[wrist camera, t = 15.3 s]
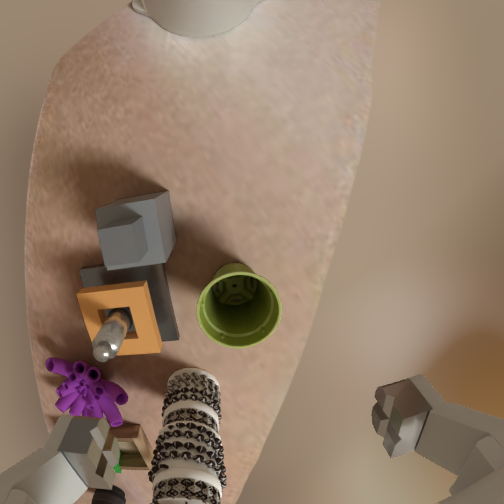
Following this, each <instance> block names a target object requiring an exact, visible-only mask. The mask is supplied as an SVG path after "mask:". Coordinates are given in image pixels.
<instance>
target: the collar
mask: <svg viewBox="0 0 504 504" xmlns="http://www.w3.org/2000/svg"><path fill="white" fill-rule="evenodd" d="M76 295H77V299H78V302H79V305H80V309H81V312H82V315H83V318H84V321H85V324H86V327H87V330H88V333H89V336H90V339H91V341H92V342H93V340H94V338H95V336H96V335H97V333H98V332H99V330H100V328H101V327H102V325H103V324H104V322H105V321H106V319H107V318H106V315H105V311H104V309H110V308H120V307H130V311H131V314H132V318H133V321H134V325H135V328H136V331H132V332H127V334H126V336H125V338H124V340H123V342H122V344H121V346H120V349H119V351H118V353H117V355H134V354H148V353H160V352H161V348H162V345H163V344H162V340H161V336H160V333H159V329H158V325H157V321H156V317H155V313H154V309H153V305H152V301H151V297H150V293H149V288H148V284H147V280H144V281H136V282H128V283H120V284H112V285H103V286H95V287H87V288H82V289H81V290H80V291H79V292H78V293H77V294H76ZM117 355H116V356H117Z"/></svg>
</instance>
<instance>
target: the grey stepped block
mask: <svg viewBox="0 0 504 504" xmlns="http://www.w3.org/2000/svg"><path fill="white" fill-rule="evenodd" d="M95 214H96V219H97V224H98V230H97V232H98V237H99V242H100V246H101V251H102V255H103V260H104V264H105V267H107V271H108V270H115V269H123V268H130V267H138V266H145V265H153V264H160V263H166V261H167V259H168V257H169V255H170V254H171V252H172V250H173V248H174V246H175V244H176V242H177V241H176V235H175V229H174V222H173V216H172V209H171V203H170V196H169V191H164V192H158V193H152V194H146V195H140V196H134V197H129V198H123V199H119V200H116V201H114V202H111V203H109V204H107V205H104V206H102V207H99V208H97V209H95Z"/></svg>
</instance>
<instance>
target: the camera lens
mask: <svg viewBox="0 0 504 504" xmlns="http://www.w3.org/2000/svg"><path fill="white" fill-rule="evenodd" d="M125 502H126V499H125V493H124V492H123V491H122V490H121V489H120V488H118V487H116V486H112V490H109V489H99V488H98V489H96V491H95V493H94V495H93V499H92V504H125Z"/></svg>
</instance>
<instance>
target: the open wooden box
mask: <svg viewBox="0 0 504 504" xmlns="http://www.w3.org/2000/svg"><path fill="white" fill-rule="evenodd" d="M109 426H110V428H109V432H110V433H111V434H113V435H114V436H115V437H116V439H117V441H120V442H134V443H135V445H136V446H137V448H138V450H139V452H140V454H122V457H121V460H119V462H120V465H119V467H120V469H128V470H151V468H152V465H151V461H152V460H153V456H154V455H153V449H152V447H151V445H150V443H149V441H148V439H147V437H146V435H145V433H144V431H143V429H142V427H141V425H120V426H116V427H113V426H111V425H110V424H109ZM112 469H114V468H112Z"/></svg>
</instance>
